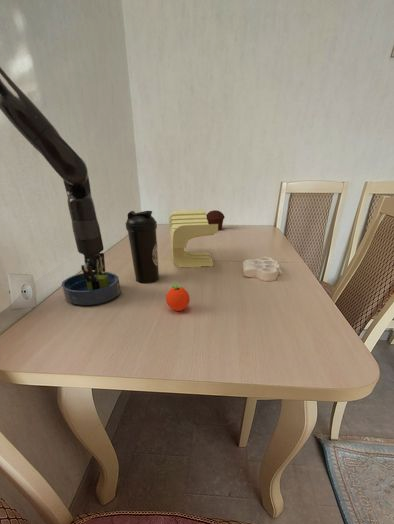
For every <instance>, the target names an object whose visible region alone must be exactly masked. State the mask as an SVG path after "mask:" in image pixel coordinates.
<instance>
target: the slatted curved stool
mask: <svg viewBox="0 0 394 524" xmlns="http://www.w3.org/2000/svg"><path fill="white" fill-rule="evenodd" d="M206 215H207V213H206V209H187V210H186V209H185V210H175V211H172V212H171V213H170V215H169V217H168V225H169V226H168V228H169V229H168V230H169V233H170V244H171V245H170V247H171V254H172V258H173V259H172V260H173V262H174V264H175V266H177V267H179V268H181V267H191V268H202V267H201V266H209V267H214V260H213V259H212V257H211V255H210V253H209V252H190V251H186V250H185V249H186V248H187V244H188V243H189V241H190V240H192V239H195V238H199V237H200V238H201V237H207V236H208V237H209V236H214V235H216V234H217V233H219V231H218V224H208V220H207V216H206Z"/></svg>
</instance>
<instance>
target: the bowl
mask: <svg viewBox="0 0 394 524" xmlns="http://www.w3.org/2000/svg"><path fill="white" fill-rule="evenodd" d="M94 275H95V274H94ZM104 275H108V277H109V282H110V285H109V286H107V287H104V288H100V289H96V290H89V291H88V287H87V283H86V278H85V275H84V273H83V272H82V273H81V272H80V273H78V274H74V275H72V276H69V277H67V278H65V279H64V280H63V281H61V285H60V287H61V291H62V293H63V297H64V299H65V301H67V302H69V303H70V304H73V305H78V306H79V305H80V306H95V305H101V304H104V303H108V302H111V300H113V299H115V298H116V297H117V296H119V295H120V293H122V292H121V283H120V279H119V278H120V277H119V276H118V275H117V274H116V273H113V272H110V271H105V272H104Z"/></svg>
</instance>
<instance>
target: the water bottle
mask: <svg viewBox="0 0 394 524" xmlns="http://www.w3.org/2000/svg"><path fill="white" fill-rule="evenodd" d="M152 214H153V211H152V210H144V211H139V212H135V210H131V211H129V212H128V213H127V219H126V222H125V229H126V231H127V235H128V240H129V241H128V242H129V247H130V253H131V258H132V265H133V270H134V276H135V281H136V282H137V283H139V284H152V283H157V282H158V281H159V280H160V276H159V275H160V274H159V273H160V272H159V253H158V252H159V251H158V238H157V237H158V236H157V228H158V223H157V221H156V219H155V218H154V216H152Z"/></svg>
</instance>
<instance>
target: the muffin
mask: <svg viewBox="0 0 394 524" xmlns="http://www.w3.org/2000/svg"><path fill="white" fill-rule="evenodd" d="M206 216H207V220H208V224H218V232H219V231H222V229H223V224H224V220H225V214H224V213H223V212H221V211H220V210H210V211H209V212H207V213H206Z"/></svg>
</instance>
